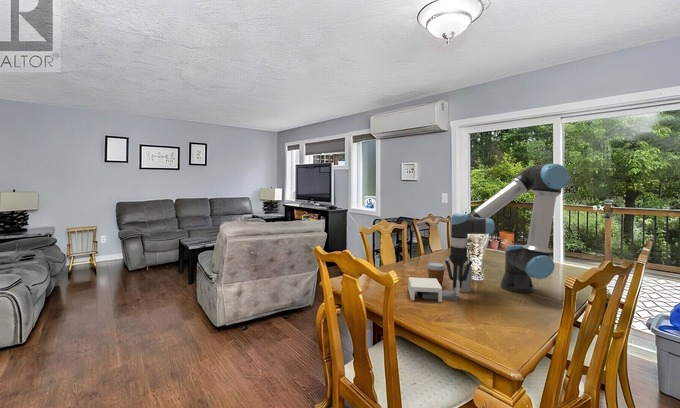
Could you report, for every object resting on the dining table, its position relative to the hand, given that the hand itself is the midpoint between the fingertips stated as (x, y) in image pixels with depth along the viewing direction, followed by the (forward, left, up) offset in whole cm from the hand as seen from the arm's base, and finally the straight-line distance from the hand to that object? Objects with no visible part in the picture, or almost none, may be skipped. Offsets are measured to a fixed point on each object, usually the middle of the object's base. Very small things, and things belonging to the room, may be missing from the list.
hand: (457, 294), depth 154 cm
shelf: (+15, 0, -2) cm, 16 cm away
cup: (-6, -13, -2) cm, 14 cm away
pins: (+20, 0, -2) cm, 20 cm away
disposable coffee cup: (+7, -15, -2) cm, 17 cm away
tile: (+9, 0, -2) cm, 9 cm away
